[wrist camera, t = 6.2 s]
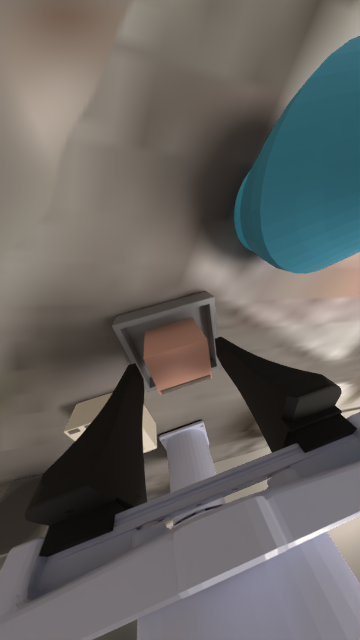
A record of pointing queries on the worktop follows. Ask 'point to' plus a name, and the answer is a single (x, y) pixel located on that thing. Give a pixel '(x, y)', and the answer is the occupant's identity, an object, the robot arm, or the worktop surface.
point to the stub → (177, 355)
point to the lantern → (18, 516)
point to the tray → (139, 321)
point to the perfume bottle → (308, 174)
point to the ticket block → (92, 407)
